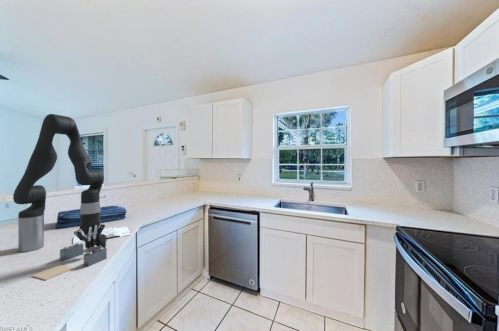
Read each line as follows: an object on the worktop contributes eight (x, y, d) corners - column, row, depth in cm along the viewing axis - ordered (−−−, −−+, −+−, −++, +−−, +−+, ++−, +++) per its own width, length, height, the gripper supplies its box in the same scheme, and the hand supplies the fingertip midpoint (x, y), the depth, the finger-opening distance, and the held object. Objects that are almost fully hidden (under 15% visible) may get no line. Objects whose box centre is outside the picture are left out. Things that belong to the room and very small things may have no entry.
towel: (127, 219, 165) (127, 206, 165) (54, 230, 136) (54, 215, 136) (121, 214, 182) (121, 202, 182) (56, 223, 154) (56, 209, 154)
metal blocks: (59, 260, 94) (59, 248, 94) (79, 253, 101) (79, 242, 101) (88, 267, 88) (88, 254, 88) (106, 259, 95) (106, 247, 95)
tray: (73, 236, 126) (73, 230, 126) (125, 228, 144) (125, 222, 144) (72, 247, 111) (72, 240, 111) (131, 235, 129) (131, 230, 129)
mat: (31, 276, 80) (31, 275, 80) (59, 266, 89) (59, 264, 89) (45, 281, 77) (45, 279, 77) (72, 269, 86) (72, 268, 86)
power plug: (99, 252, 101) (94, 233, 107) (96, 261, 104) (91, 242, 110) (112, 248, 105) (106, 230, 111) (109, 257, 108) (104, 239, 114)
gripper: (99, 208, 105) (99, 241, 105) (68, 214, 92) (68, 252, 92) (109, 209, 103) (109, 243, 103) (80, 215, 90) (80, 254, 90)
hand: (90, 247), depth 97 cm, fingers closed
